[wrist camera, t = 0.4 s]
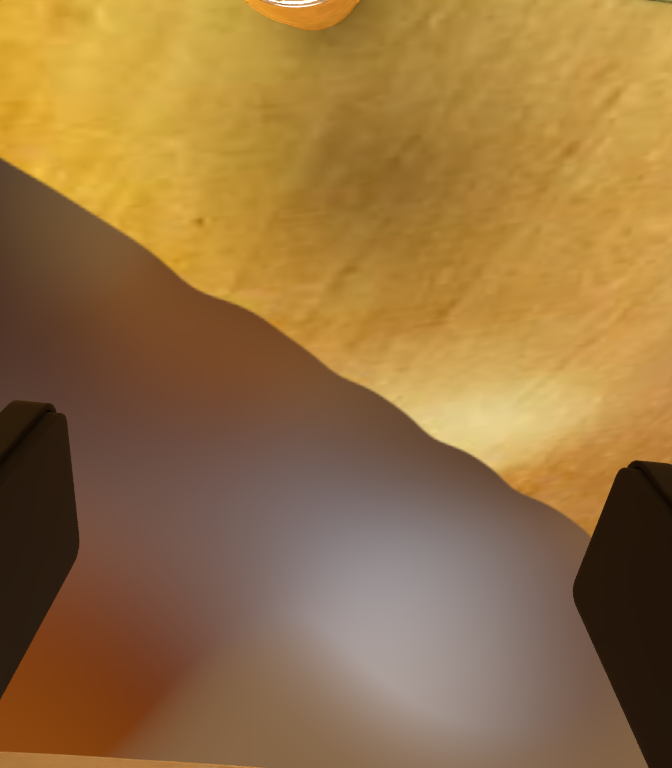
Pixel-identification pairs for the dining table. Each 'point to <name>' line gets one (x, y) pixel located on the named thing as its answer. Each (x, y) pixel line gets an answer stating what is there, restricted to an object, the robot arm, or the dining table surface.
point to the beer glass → (305, 11)
